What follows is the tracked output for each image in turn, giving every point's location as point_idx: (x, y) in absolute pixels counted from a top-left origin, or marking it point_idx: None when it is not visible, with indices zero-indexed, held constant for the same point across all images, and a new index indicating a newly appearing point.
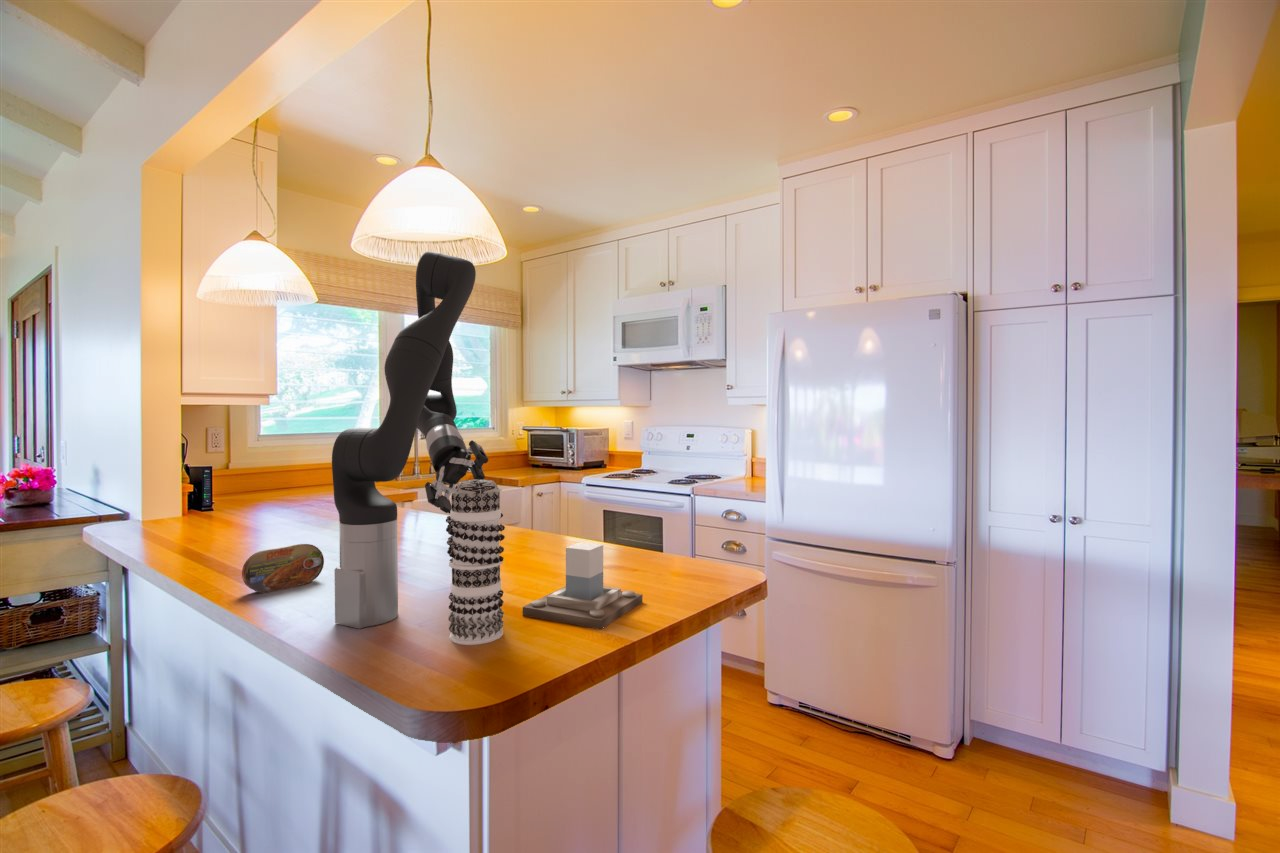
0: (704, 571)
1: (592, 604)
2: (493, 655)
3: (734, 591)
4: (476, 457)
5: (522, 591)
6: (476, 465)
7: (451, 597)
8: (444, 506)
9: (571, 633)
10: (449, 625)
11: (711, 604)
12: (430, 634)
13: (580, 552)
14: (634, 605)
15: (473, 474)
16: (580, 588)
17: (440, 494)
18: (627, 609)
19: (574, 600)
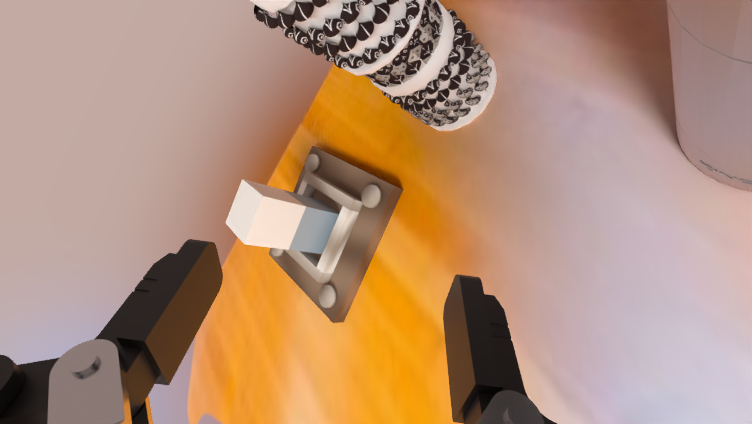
0: (207, 394)
1: (309, 172)
2: None
3: None
4: (8, 369)
5: (416, 338)
6: (102, 336)
7: (451, 10)
8: (461, 278)
9: (347, 129)
10: (486, 55)
11: (234, 244)
12: (537, 68)
13: (255, 186)
14: None
15: (184, 269)
16: (307, 200)
17: (485, 412)
18: None
19: (323, 181)
